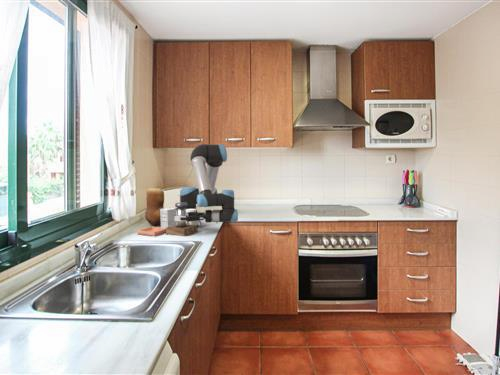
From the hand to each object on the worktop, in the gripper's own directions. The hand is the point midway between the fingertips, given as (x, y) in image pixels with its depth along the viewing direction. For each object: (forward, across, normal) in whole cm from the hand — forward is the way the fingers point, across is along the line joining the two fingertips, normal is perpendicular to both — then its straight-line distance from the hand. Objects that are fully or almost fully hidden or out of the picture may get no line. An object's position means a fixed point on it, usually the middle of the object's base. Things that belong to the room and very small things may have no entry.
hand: (176, 216), depth 215 cm
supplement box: (+7, +16, -10) cm, 20 cm away
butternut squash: (+17, +27, -10) cm, 33 cm away
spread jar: (-9, +18, -10) cm, 23 cm away
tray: (+14, +1, -10) cm, 17 cm away
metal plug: (-3, 0, -10) cm, 10 cm away
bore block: (-3, 0, -10) cm, 10 cm away
